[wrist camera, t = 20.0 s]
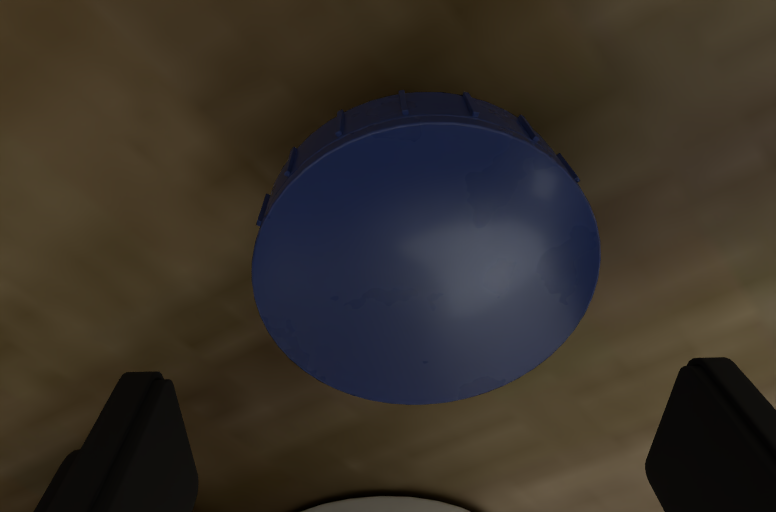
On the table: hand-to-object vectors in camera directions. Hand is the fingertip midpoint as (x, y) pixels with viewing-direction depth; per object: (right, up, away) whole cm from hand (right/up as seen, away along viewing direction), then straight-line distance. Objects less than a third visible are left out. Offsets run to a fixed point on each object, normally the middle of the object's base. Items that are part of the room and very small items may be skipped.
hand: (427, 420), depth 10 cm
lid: (0, +3, +1) cm, 3 cm away
